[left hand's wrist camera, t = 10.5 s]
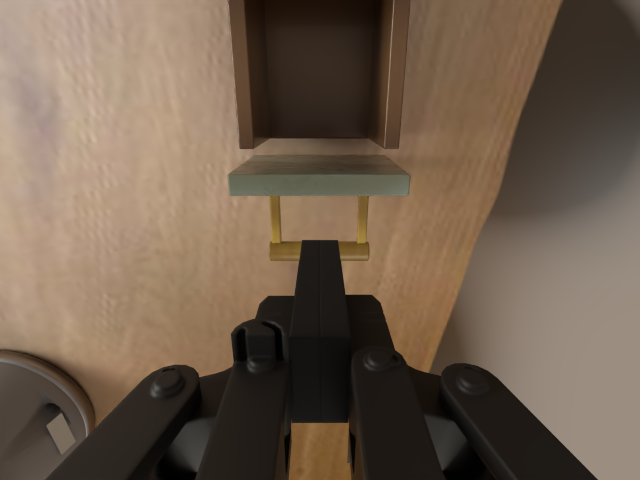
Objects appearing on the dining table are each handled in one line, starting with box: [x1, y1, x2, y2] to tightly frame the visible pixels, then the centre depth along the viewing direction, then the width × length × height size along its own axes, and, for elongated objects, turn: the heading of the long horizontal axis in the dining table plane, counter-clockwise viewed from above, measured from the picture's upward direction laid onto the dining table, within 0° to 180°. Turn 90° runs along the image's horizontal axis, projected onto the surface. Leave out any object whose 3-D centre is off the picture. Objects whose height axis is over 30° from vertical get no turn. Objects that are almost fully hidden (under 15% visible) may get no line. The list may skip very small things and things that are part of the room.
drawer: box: [227, 0, 410, 261], centre depth 21 cm, size 24×10×8 cm, turn 0°
